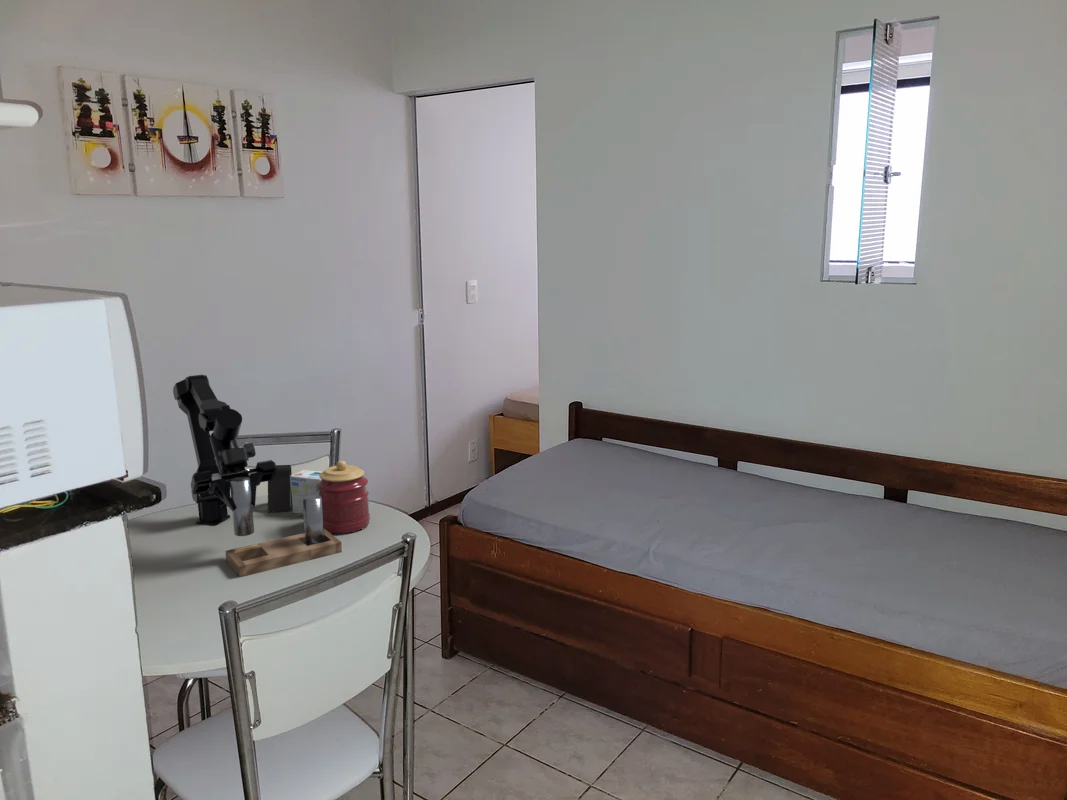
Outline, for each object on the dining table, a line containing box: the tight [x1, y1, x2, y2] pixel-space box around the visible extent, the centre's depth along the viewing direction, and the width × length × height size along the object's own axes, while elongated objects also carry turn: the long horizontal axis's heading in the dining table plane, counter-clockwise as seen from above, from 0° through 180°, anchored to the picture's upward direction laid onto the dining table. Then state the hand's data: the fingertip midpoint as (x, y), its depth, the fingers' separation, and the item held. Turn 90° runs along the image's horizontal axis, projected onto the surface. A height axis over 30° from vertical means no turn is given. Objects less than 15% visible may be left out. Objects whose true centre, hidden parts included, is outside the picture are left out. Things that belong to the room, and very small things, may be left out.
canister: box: [317, 460, 371, 535], centre depth 206 cm, size 13×13×18 cm
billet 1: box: [230, 477, 255, 537], centre depth 185 cm, size 4×4×13 cm
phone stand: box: [267, 464, 293, 513], centre depth 221 cm, size 9×6×12 cm, turn 7°
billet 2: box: [303, 495, 324, 546], centre depth 191 cm, size 4×4×13 cm
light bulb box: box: [290, 469, 323, 515], centre depth 217 cm, size 11×7×11 cm, turn 71°
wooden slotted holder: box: [225, 529, 343, 578], centre depth 188 cm, size 24×11×3 cm, turn 126°
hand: (243, 507), depth 184 cm, fingers closed on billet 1, 4 cm apart
